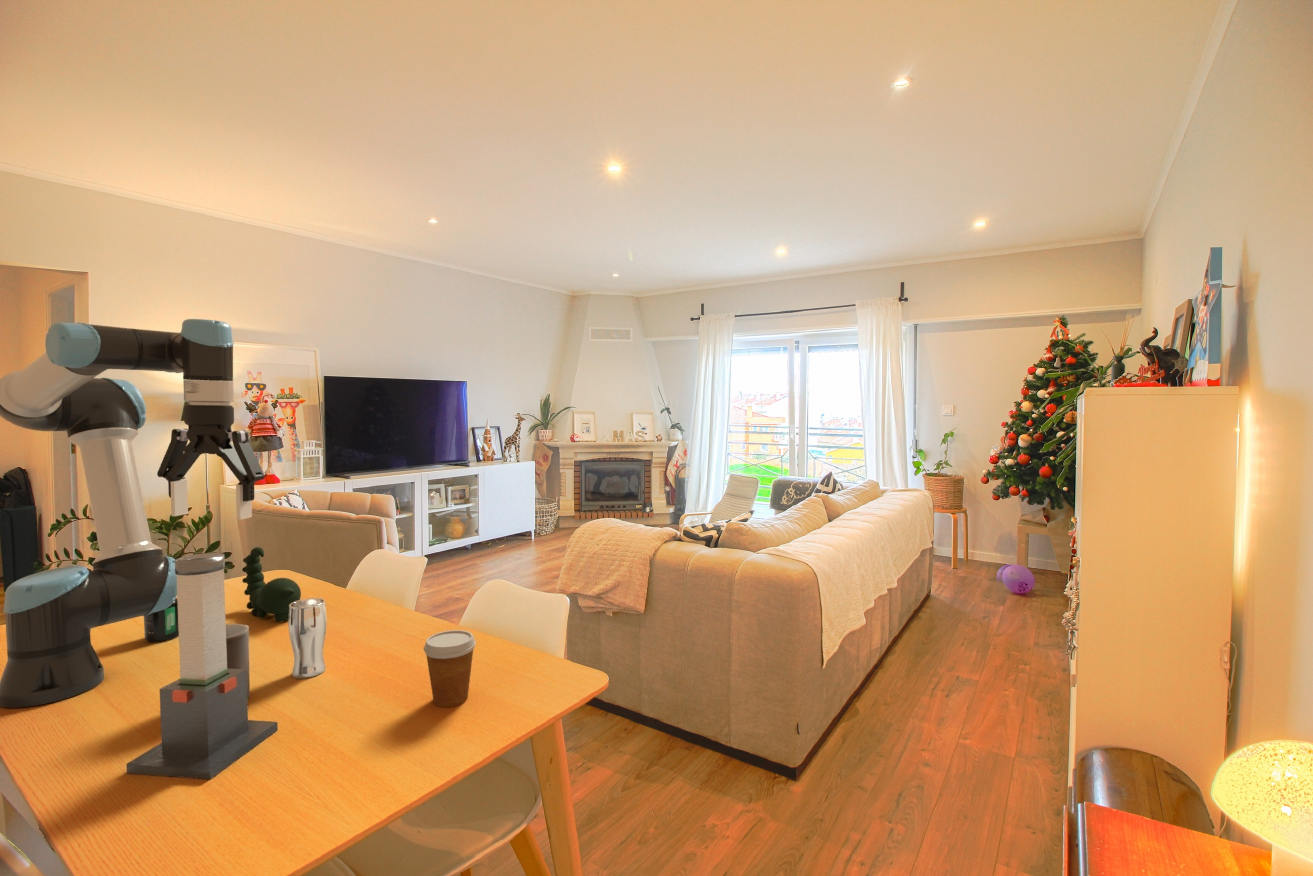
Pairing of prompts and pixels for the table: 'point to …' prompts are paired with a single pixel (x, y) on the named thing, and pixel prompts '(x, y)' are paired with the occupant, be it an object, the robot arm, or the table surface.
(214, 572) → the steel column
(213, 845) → the table surface
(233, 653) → the pillar candle
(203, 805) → the table surface
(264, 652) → the table surface
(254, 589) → the toy figurine
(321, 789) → the table surface
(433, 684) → the disposable coffee cup
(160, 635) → the supplement bottle
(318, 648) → the beer glass
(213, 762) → the jack stand
